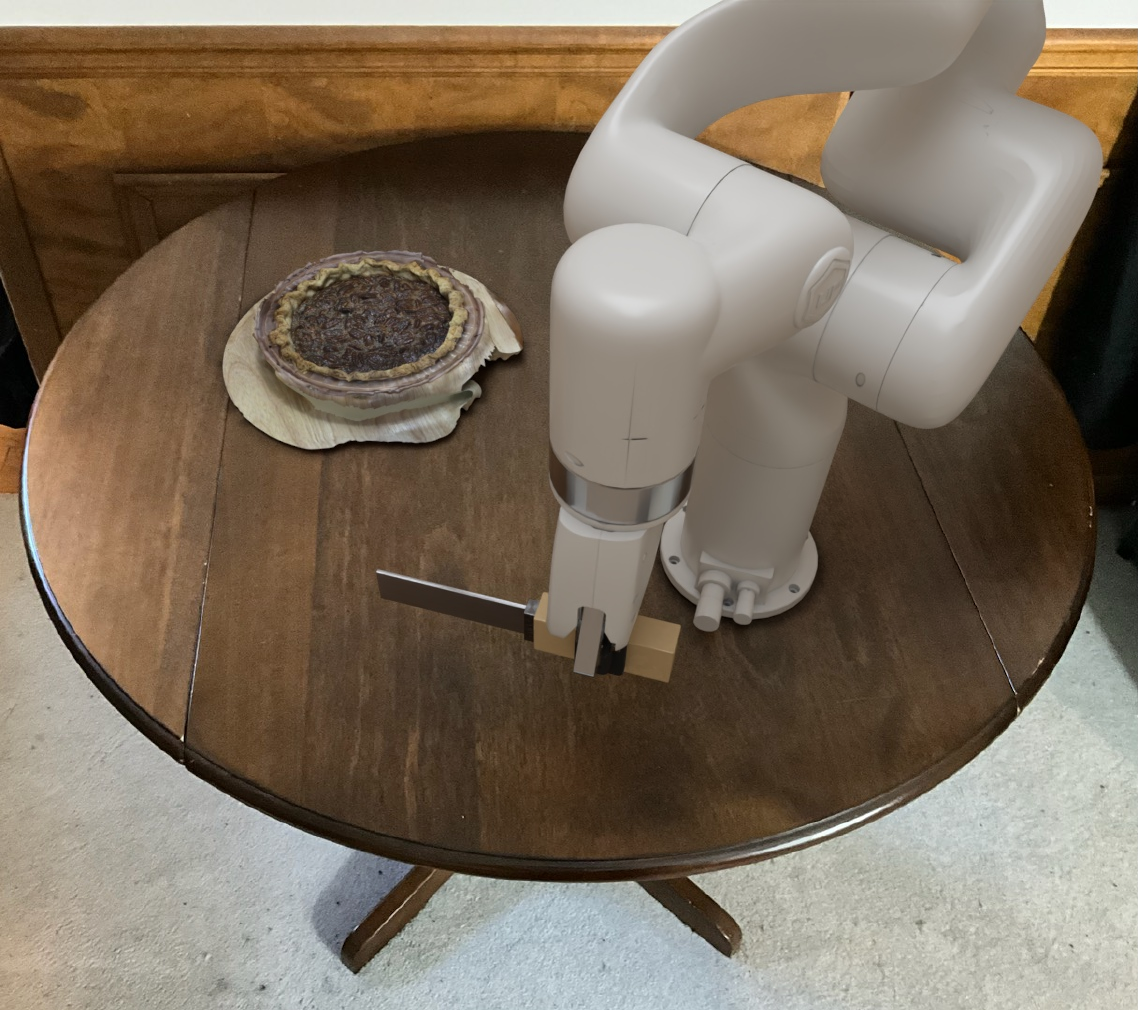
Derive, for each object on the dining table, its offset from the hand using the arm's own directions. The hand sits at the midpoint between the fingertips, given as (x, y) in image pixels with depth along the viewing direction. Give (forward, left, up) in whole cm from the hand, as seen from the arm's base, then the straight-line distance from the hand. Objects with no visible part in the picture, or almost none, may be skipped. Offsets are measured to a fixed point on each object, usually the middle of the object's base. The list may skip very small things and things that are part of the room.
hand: (604, 646), depth 67 cm
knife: (0, +5, -1) cm, 5 cm away
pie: (+32, +30, -9) cm, 45 cm away
